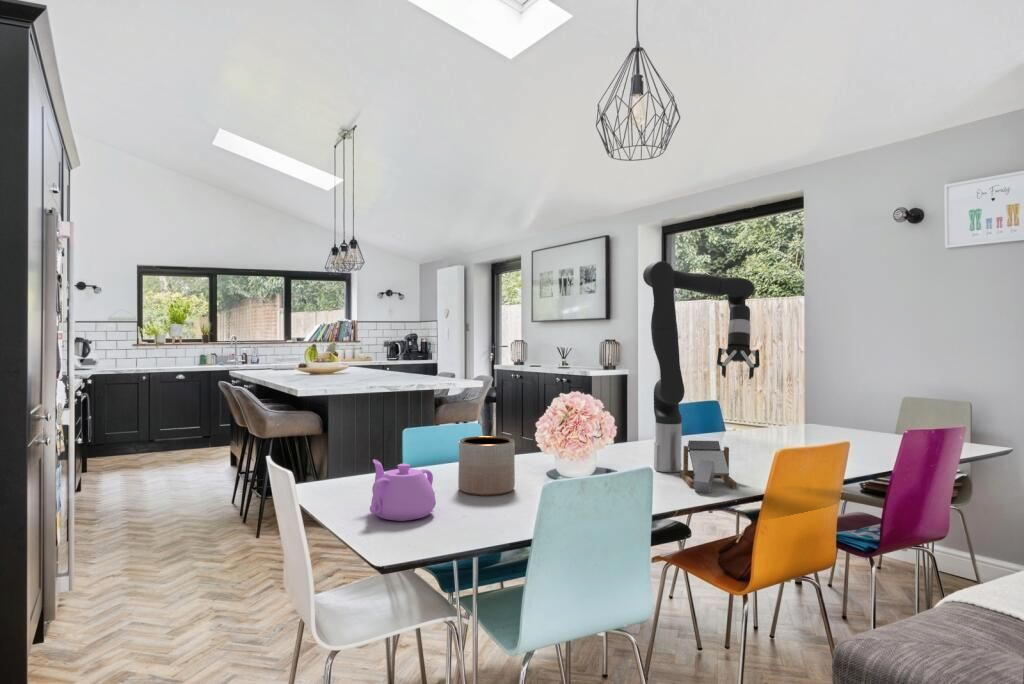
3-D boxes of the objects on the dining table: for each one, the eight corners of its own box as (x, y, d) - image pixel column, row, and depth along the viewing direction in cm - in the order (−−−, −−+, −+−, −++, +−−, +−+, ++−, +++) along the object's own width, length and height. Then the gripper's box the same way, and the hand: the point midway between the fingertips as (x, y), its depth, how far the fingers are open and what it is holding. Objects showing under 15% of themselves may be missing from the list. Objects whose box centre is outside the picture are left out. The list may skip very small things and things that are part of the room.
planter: (512, 497, 199) (513, 445, 199) (454, 496, 200) (454, 444, 200) (516, 484, 217) (516, 436, 216) (462, 482, 218) (462, 435, 218)
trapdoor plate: (686, 445, 229) (687, 439, 227) (718, 446, 228) (720, 439, 226) (693, 478, 216) (694, 472, 214) (727, 479, 215) (729, 473, 214)
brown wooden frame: (680, 475, 230) (680, 442, 230) (722, 476, 229) (723, 443, 229) (690, 487, 213) (690, 452, 212) (736, 489, 211) (736, 453, 211)
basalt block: (700, 470, 215) (695, 491, 207) (699, 459, 213) (693, 480, 205) (714, 472, 213) (709, 493, 205) (713, 461, 211) (708, 482, 203)
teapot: (402, 499, 196) (402, 452, 196) (454, 512, 182) (455, 462, 182) (340, 515, 179) (340, 464, 179) (393, 530, 165) (393, 475, 165)
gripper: (718, 330, 236) (716, 374, 232) (761, 331, 232) (759, 376, 228) (718, 336, 243) (716, 379, 239) (759, 337, 239) (758, 381, 235)
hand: (737, 378), depth 233 cm, fingers open, 8 cm apart
